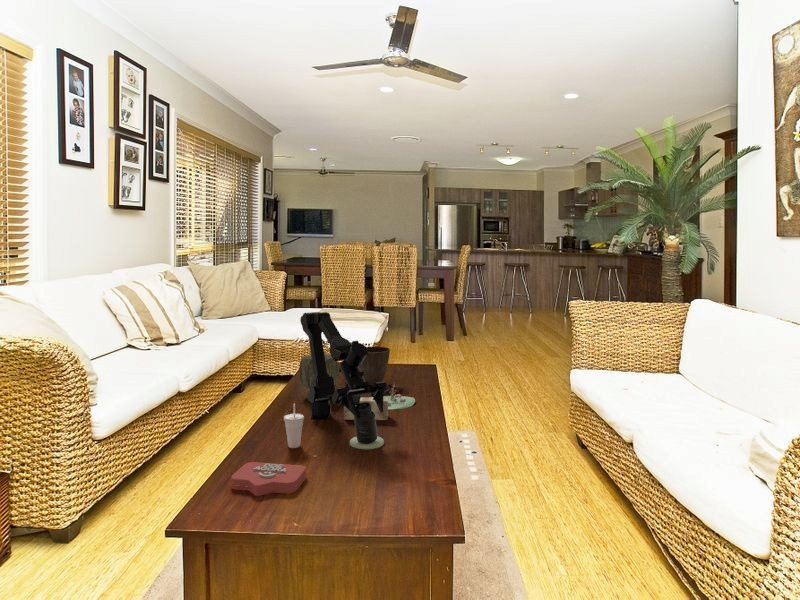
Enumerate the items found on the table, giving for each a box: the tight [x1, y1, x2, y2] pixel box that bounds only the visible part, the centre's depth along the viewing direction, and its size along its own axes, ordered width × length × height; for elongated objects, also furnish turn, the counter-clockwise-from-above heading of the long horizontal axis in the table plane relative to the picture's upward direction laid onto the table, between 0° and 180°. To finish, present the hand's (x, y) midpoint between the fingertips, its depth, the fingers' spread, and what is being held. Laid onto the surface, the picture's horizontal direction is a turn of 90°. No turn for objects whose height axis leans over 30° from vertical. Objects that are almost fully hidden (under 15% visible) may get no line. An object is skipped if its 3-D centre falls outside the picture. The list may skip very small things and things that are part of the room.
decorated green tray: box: [370, 381, 416, 411], centre depth 234 cm, size 25×21×9 cm
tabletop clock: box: [299, 338, 339, 390], centre depth 240 cm, size 14×9×25 cm, turn 58°
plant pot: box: [359, 346, 391, 386], centre depth 263 cm, size 15×15×16 cm
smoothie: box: [283, 403, 305, 449], centre depth 183 cm, size 6×6×14 cm
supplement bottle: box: [353, 402, 379, 444], centre depth 184 cm, size 7×7×12 cm
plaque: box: [230, 461, 307, 497], centre depth 155 cm, size 18×4×15 cm
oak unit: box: [343, 396, 389, 421], centre depth 213 cm, size 16×5×7 cm, turn 90°
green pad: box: [349, 436, 385, 450], centre depth 187 cm, size 11×11×1 cm
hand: (369, 414), depth 184 cm, fingers open, 9 cm apart
